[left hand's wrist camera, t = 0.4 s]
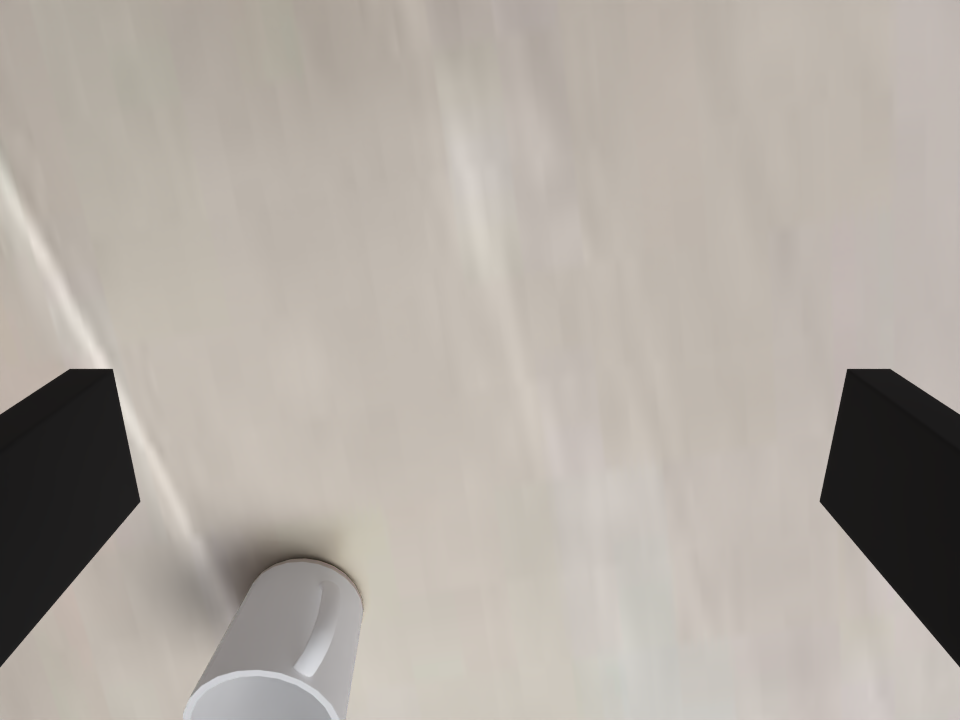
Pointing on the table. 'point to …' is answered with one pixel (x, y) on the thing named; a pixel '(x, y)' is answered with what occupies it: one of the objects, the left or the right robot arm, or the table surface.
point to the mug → (285, 649)
